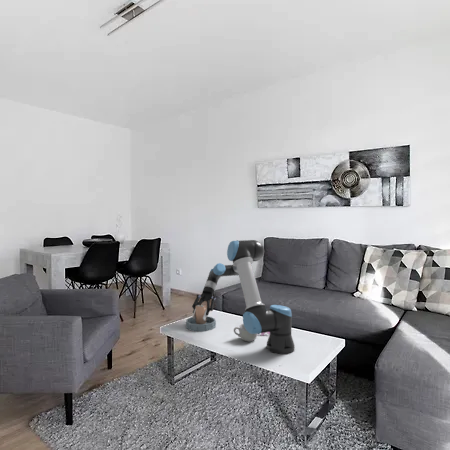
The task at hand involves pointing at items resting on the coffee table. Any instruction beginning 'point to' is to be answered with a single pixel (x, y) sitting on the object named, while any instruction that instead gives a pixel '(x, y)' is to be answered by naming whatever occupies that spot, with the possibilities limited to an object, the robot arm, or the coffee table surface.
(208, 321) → the bowl
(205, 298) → the robot arm
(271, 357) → the coffee table surface
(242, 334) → the teacup
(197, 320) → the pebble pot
